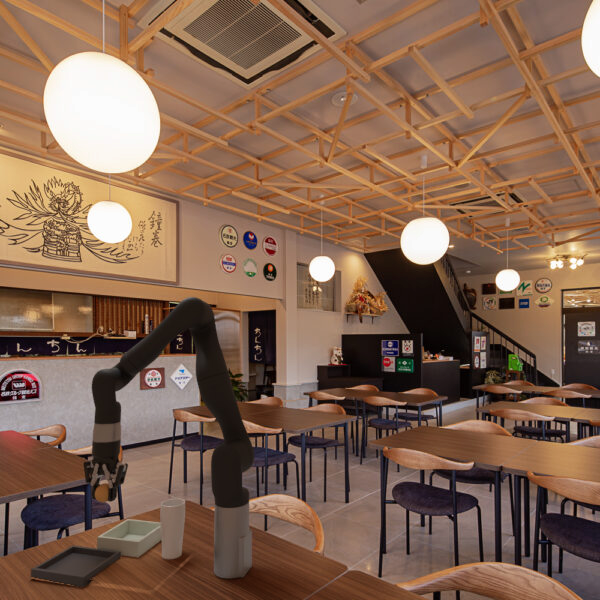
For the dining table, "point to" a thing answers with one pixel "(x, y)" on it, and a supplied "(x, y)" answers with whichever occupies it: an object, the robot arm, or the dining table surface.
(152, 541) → the open box
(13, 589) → the dining table surface
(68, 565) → the tray
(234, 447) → the robot arm
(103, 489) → the ball
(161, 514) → the drinking glass
